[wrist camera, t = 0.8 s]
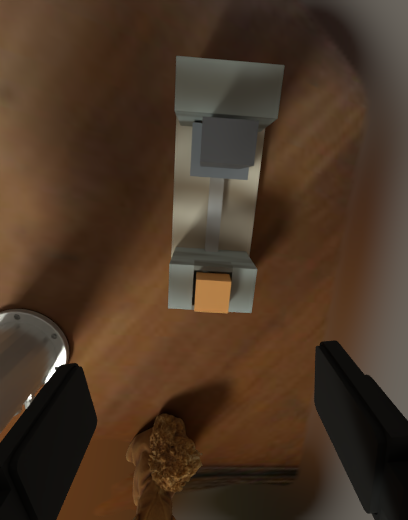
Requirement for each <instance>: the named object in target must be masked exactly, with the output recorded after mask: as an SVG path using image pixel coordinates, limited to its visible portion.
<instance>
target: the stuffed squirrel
mask: <svg viewBox="0 0 408 520" xmlns="http://www.w3.org/2000/svg"><path fill="white" fill-rule="evenodd" d="M194 444H195V443H193V441H192V440H191V439H188V437H187V436H186V430H185V425H184V422H183V420H182V419H180V418H176V417H175V416H173V415H168V414H166V413H165V414H160V415H159V416H157V418H156V420H155V422H154V426H153V427H152V428H150V429H148V430H146V431H144V432H142V433H140V434H138V435H136V436H135V437H134V439H133V440H132V442H131V444H130V446H129V448H128V450H127V454H126V459H127V461H129V462H133V463H134V465H135V467H136V470H135V473H134V479H133V498H134V503H135V505H136V506H137V514H136V516H135V518H134V519H133V520H176V519H175V518H174V516H173V515H172V500H171V499H172V497H173V495H174V494H175V492H176V491H178V492H179V491H181V490H183V487H181V486H184V485H185V482H186V481H189V480H190V477H192V475H194V474H195V473H196V471H197V470H198V469H199V468H200V467H201V466H202V464H201V463H202V462H201V461H200V457H199V456H200V455H202V453H200V454H199V452H198V450H196V449H195V445H194ZM195 450H196V451H195Z"/></svg>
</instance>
